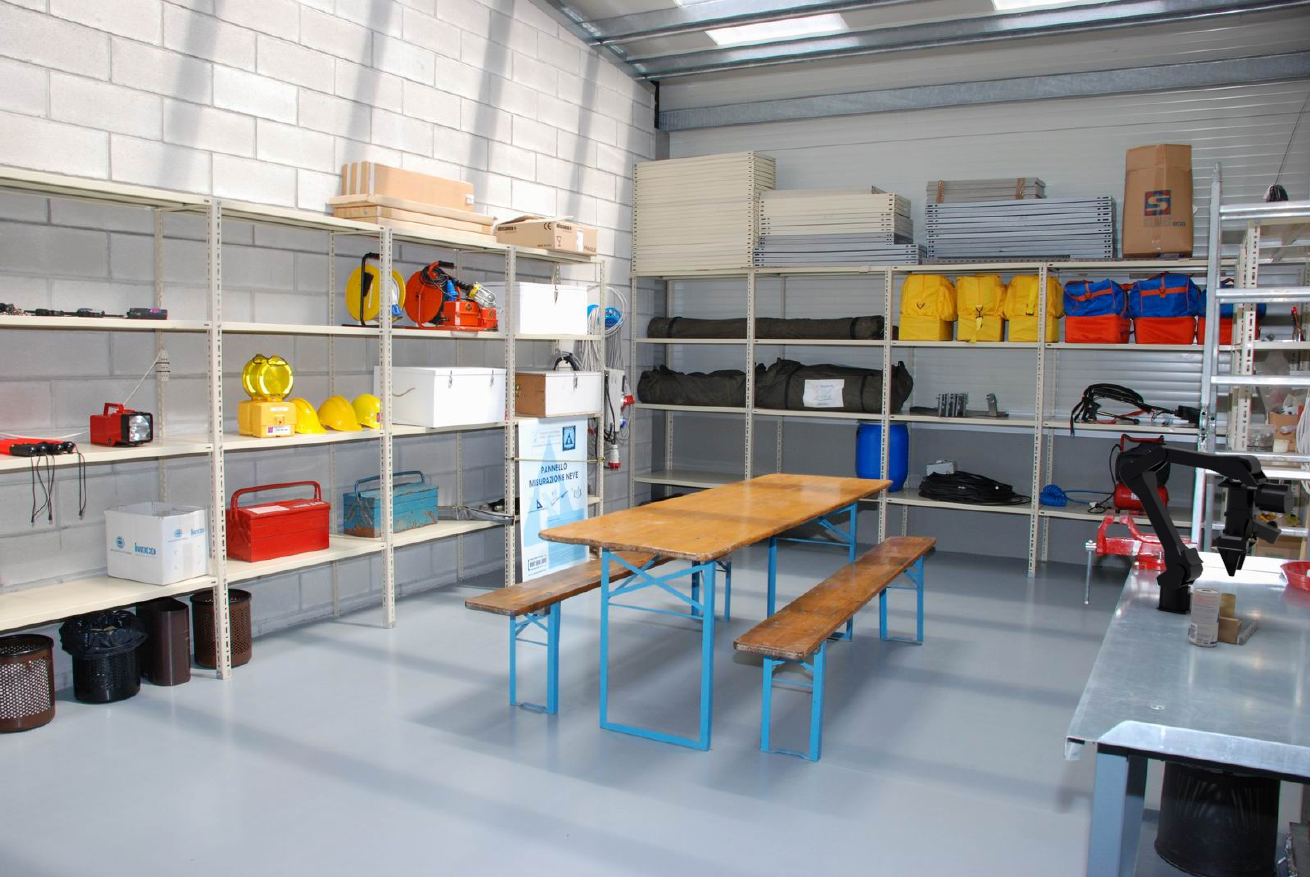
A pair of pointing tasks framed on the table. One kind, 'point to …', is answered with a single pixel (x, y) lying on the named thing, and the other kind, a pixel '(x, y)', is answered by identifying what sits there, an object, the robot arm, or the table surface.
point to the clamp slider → (1228, 619)
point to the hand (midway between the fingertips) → (1235, 573)
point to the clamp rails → (1246, 633)
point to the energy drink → (1205, 617)
